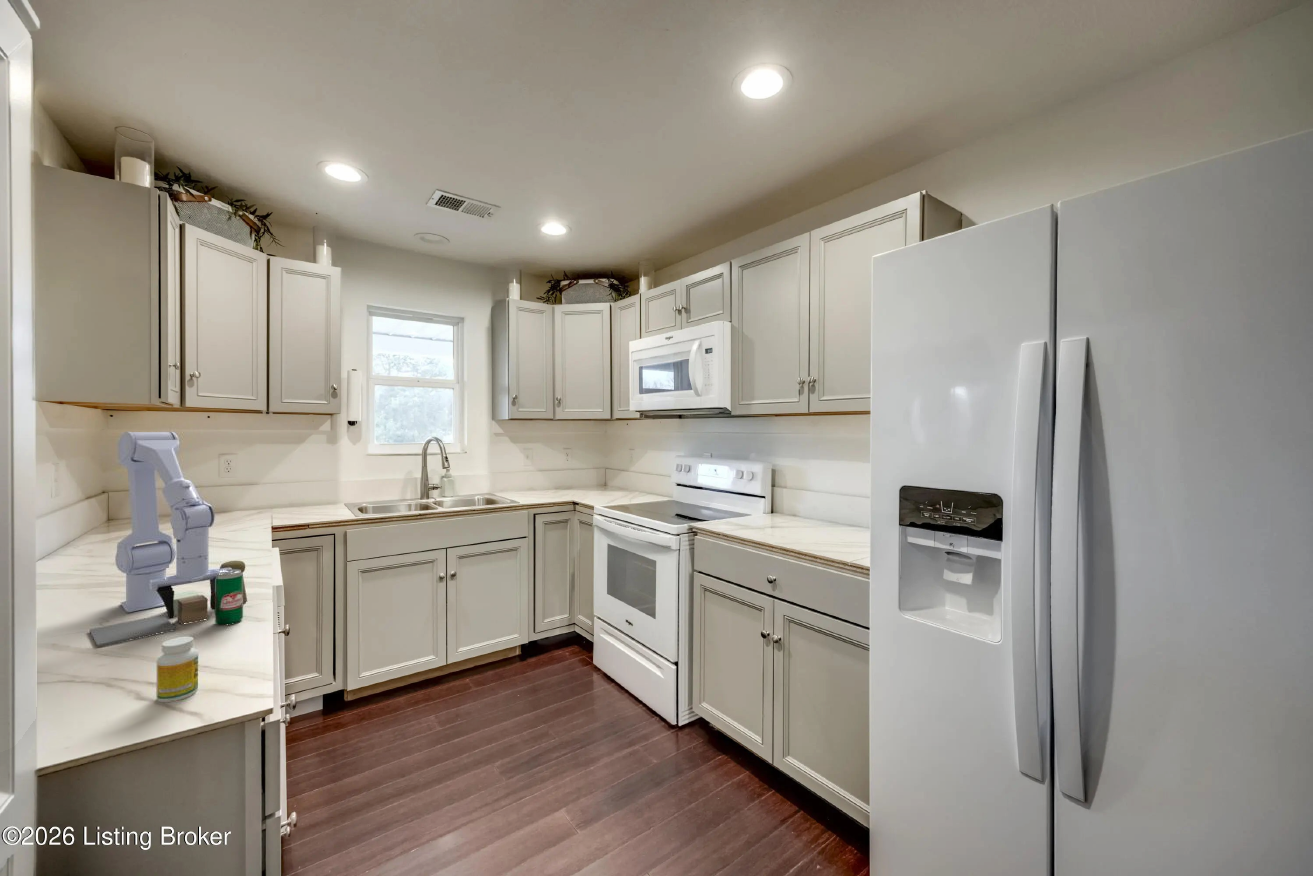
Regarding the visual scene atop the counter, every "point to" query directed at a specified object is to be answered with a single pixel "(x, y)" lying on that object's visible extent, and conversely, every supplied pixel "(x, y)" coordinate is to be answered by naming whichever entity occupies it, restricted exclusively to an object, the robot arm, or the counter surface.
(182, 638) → the supplement bottle
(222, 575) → the soda can
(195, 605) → the walnut block
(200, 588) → the counter surface
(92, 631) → the mat
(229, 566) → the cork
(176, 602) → the sage block
